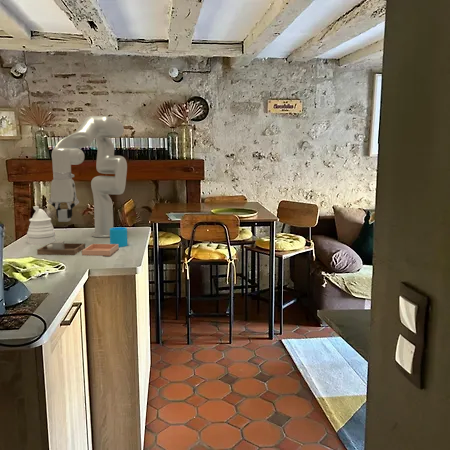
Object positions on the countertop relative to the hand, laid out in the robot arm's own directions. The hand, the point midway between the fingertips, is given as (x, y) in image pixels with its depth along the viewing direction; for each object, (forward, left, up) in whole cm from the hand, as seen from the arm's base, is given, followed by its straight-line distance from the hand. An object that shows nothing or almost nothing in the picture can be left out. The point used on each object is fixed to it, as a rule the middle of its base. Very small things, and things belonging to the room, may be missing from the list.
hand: (64, 217), depth 202 cm
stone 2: (+7, -1, -15) cm, 16 cm away
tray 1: (+4, -1, -15) cm, 16 cm away
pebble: (+4, -6, -15) cm, 16 cm away
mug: (-14, +20, -15) cm, 29 cm away
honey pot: (-16, -19, -15) cm, 29 cm away
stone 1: (0, 0, -2) cm, 2 cm away
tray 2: (+4, +17, -15) cm, 23 cm away
